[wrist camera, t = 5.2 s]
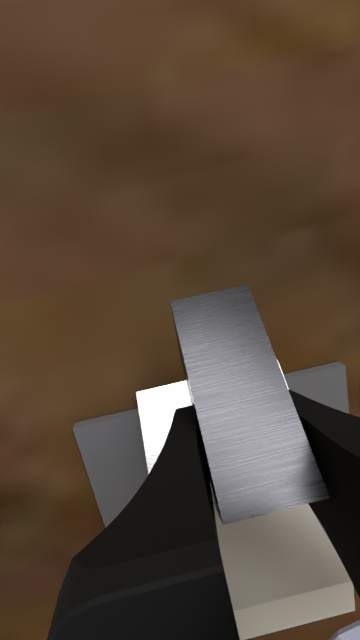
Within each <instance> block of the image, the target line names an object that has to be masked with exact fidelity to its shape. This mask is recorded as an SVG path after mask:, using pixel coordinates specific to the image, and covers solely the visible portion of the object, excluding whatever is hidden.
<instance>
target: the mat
mask: <svg viewBox="0 0 360 640" xmlns="http://www.w3.org/2000/svg"><path fill="white" fill-rule="evenodd" d="M283 375H284V378H285V381H286V383H287V386H288V388H289V390H292V391H294V392H296V393H298V394H301V395H303V396H305V397H307V398H310V399H312V400H314V401H317V402H319V403H321V404H324V405H326V406H329V407H331V408H334V409H337V410H340V411H342V412H345V413H348V414H349V406H348V394H347V381H346V368H345V365H344V364H343V363H341V362H340V361H339V362H334V363H330V364H326V365H321V366H317V367H313V368H309V369H304V370H300V371H296V372H291V373H287V374H283ZM73 431H74V434H75V438H76V441H77V444H78V447H79V450H80V453H81V456H82V459H83V462H84V465H85V468H86V471H87V474H88V477H89V480H90V483H91V486H92V489H93V492H94V495H95V498H96V501H97V504H98V507H99V510H100V513H101V516H102V519H103V522H104V525H105V528H106V527H107V526H108V525H109V524H110V523H111V522H112V521H113V520H114V519H115V518H116V517H117V516H118V514H119V513H120V512H121V511H122V510H123V509H124V508H125V506H126V505H127V504H128V503H129V502H130V500H131V499H132V498H133V496H134V495H135V494H136V492H137V491H138V489H139V488H140V487H141V485H142V484H143V482H144V481H145V479H146V478H147V476H148V468H147V462H146V455H145V449H144V442H143V436H142V429H141V422H140V416H139V409H138V408H136V409H132V410H128V411H123V412H119V413H115V414H111V415H106V416H102V417H98V418H93V419H89V420H85V421H80V422H76V423H75V424H74V426H73ZM308 505H309V504H308ZM310 508H311V507H310ZM311 510H312V509H311ZM312 511H313V510H312ZM313 513H314V512H313ZM314 515H315V513H314ZM315 516H316V515H315ZM316 518H317V516H316ZM317 520H318V518H317ZM318 522H319V523H320V521H319V520H318ZM320 525H321V523H320ZM321 527H322V528H323V526H322V525H321ZM323 530H324V528H323ZM324 532H325V533H326V531H325V530H324ZM326 535H327V533H326ZM327 537H328V535H327ZM328 539H329V537H328ZM329 540H330V539H329ZM330 542H331V541H330ZM331 544H332V543H331ZM333 547H334V546H333ZM334 549H335V548H334ZM335 551H336V550H335Z"/></svg>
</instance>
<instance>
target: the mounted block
mask: <svg viewBox="0 0 360 640" xmlns="http://www.w3.org/2000/svg"><path fill="white" fill-rule="evenodd" d="M170 303H171V308H172V314H173V319H174V324H175V330H176V335H177V340H178V346H179V351H180V356H181V361H182V365H183V370H184V374H185V378H186V381H182V382H177V383H173V384H169V385H164V386H160V387H156V388H152V389H147V390H143V391H139V392H136V396H137V403H138V409H139V416H140V422H141V429H142V436H143V442H144V449H145V455H146V462H147V468H148V474H149V473H150V471H151V469H152V468H153V466H154V464H155V462H156V460H157V458H158V456H159V454H160V452H161V450H162V447H163V445H164V443H165V440H166V438H167V435H168V432H169V430H170V427H171V424H172V420H173V416H174V412H175V410H176V409H177V408H182V407H186V406H190V405H193V407H194V411H195V415H196V419H197V424H198V428H199V433H200V437H201V442H202V446H203V451H204V455H205V460H206V465H207V469H208V474H209V478H210V484H211V491H212V498H213V504H215V507H216V511H217V513H218V515H219V517H220V519H221V521H222V523H223V525H226V524H230V523H233V522H237V521H241V520H245V519H249V518H253V517H257V516H261V515H265V514H269V513H273V512H277V511H281V510H285V509H289V508H293V507H297V506H301V505H305V504H309V503H313V502H317V501H321V500H325V499H329V498H330V497H329V494H328V492H327V489H326V487H325V484H324V481H323V479H322V476H321V474H320V471H319V468H318V466H317V463H316V461H315V458H314V455H313V453H312V450H311V448H310V445H309V442H308V440H307V437H306V434H305V432H304V429H303V427H302V424H301V421H300V419H299V416H298V414H297V411H296V408H295V406H294V403H293V401H292V398H291V395H290V393H289V390H288V389H289V388H288V386H287V383H286V381H285V378H284V375H283V373H282V370H281V368H280V365H279V362H278V360H277V359H276V356H275V354H274V351H273V349H272V346H271V343H270V341H269V338H268V335H267V333H266V330H265V328H264V325H263V322H262V320H261V317H260V315H259V312H258V309H257V307H256V304H255V302H254V299H253V296H252V294H251V291H250V289H249V286H248V284H247V285H243V286H238V287H234V288H229V289H225V290H220V291H216V292H211V293H207V294H202V295H198V296H193V297H189V298H185V299H180V300H176V301H171V302H170Z"/></svg>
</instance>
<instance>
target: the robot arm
mask: <svg viewBox="0 0 360 640" xmlns="http://www.w3.org/2000/svg"><path fill="white" fill-rule="evenodd" d="M288 390H289V389H288ZM289 393H290V395H291V398H292V401H293V403H294V406H295V408H296V411H297V414H298V416H299V419H300V421H301V424H302V427H303V429H304V432H305V434H306V437H307V440H308V442H309V445H310V448H311V450H312V453H313V455H314V458H315V461H316V463H317V466H318V468H319V471H320V474H321V476H322V479H323V481H324V484H325V487H326V489H327V492H328V494H329V497H330V498H329V499H325V500H321V501H317V502H313V503H309V506H310V507H311V509H312V510H313V512H314V513H315V515H316V516H317V518H318V520H319V521H320V523H321V525H322V526H323V528H324V530H325V531H326V533H327V535H328V537H329V539H330V541H331V543H332V545H333V546H334V548H335V550H336V552H337V554H338V556H339V558H340V560H341V562H342V564H343V565H344V567H345V569H346V571H347V573H348V575H349V577H350V579H351V581H352V583H353V585H354V587H355V589H356V591H357V593H358V595H359V597H360V417H357V416H354V415H351V414H348V413H345V412H342V411H340V410H337V409H334V408H331V407H329V406H326V405H324V404H321V403H319V402H317V401H314V400H312V399H310V398H307V397H305V396H303V395H301V394H298V393H296V392H294V391H292V390H289ZM47 640H240V638H239V633H238V629H237V625H236V620H235V616H234V611H233V607H232V602H231V598H230V593H229V589H228V585H227V580H226V576H225V571H224V567H223V562H222V558H221V553H220V547H219V541H218V534H217V527H216V520H215V513H214V505H213V498H212V491H211V484H210V478H209V474H208V469H207V465H206V460H205V455H204V451H203V446H202V442H201V437H200V433H199V428H198V424H197V419H196V415H195V411H194V407H193V405H190V406H186V407H182V408H177V409H176V410H175V412H174V416H173V420H172V424H171V427H170V430H169V432H168V435H167V438H166V440H165V443H164V445H163V447H162V450H161V452H160V454H159V456H158V458H157V460H156V462H155V464H154V466H153V468H152V469H151V471H150V473H149V474H148V476H147V478H146V479H145V481H144V482H143V484H142V485H141V487H140V488H139V489H138V491H137V492H136V494H135V495H134V496H133V498H132V499H131V500H130V502H129V503H128V504H127V505H126V506H125V508H124V509H123V510H122V511H121V512H120V513H119V514H118V516H117V517H116V518H115V519H114V520H113V521H112V522H111V523H110V524H109V525H108V526H107V527H106V528H105V529H104V530H103V531H102V532H101V533H100V534H99V535H98V536H97V537H96V538H95V539H93V540H92V541H91V542H90V543H89V544H88V545H87V546H86V547H85V548H84V549H82V550H81V551H80V552H79V553H78V554H77V555H76V556H74V557H73V558H72V560H71V563H70V566H69V569H68V571H67V574H66V577H65V579H64V582H63V585H62V588H61V590H60V593H59V596H58V600H57V604H56V608H55V611H54V615H53V619H52V623H51V627H50V631H49V634H48V638H47ZM330 640H360V620H359V621H356V622H354V623H352V624H350V625H348V626H346V627H344V628H342V629H340V630H338V631H337V632H336V633H335V634H334V635H333V636H332V637H331V639H330Z"/></svg>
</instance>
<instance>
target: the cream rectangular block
mask: <svg viewBox="0 0 360 640" xmlns="http://www.w3.org/2000/svg"><path fill="white" fill-rule="evenodd" d="M213 505H214V513H215V520H216V527H217V534H218V541H219V547H220V553H221V558H222V562H223V567H224V571H225V576H226V580H227V585H228V589H229V593H230V598H231V602H232V607H233V611H234V616H235V620H236V625H237V629H238V633H239V638H240V640H246V639H250V638H254V637H257V636H261V635H265V634H269V633H272V632H276V631H280V630H284V629H288V628H291V627H295V626H299V625H303V624H307V623H310V622H314V621H318V620H322V619H326V618H329V617H333V616H337V615H341V614H345V613H348V612H351V611H355V604H354V588H353V583H352V581H351V579H350V577H349V575H348V573H347V571H346V569H345V567H344V565H343V564H342V562H341V560H340V558H339V556H338V554H337V552H336V551H335V549H334V547H333V545H332V544H331V542H330V540H329V539H328V537H327V535H326V533H325V532H324V530H323V528H322V527H321V525H320V523H319V522H318V520H317V518H316V516H315V515H314V513H313V511H312V510H311V508H310V506H309V505H308V504H305V505H301V506H297V507H293V508H289V509H285V510H281V511H277V512H273V513H269V514H265V515H261V516H257V517H253V518H249V519H245V520H241V521H237V522H233V523H230V524H226V525H223V523H222V521H221V519H220V517H219V515H218V513H217V511H216V507H215V504H213Z"/></svg>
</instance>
